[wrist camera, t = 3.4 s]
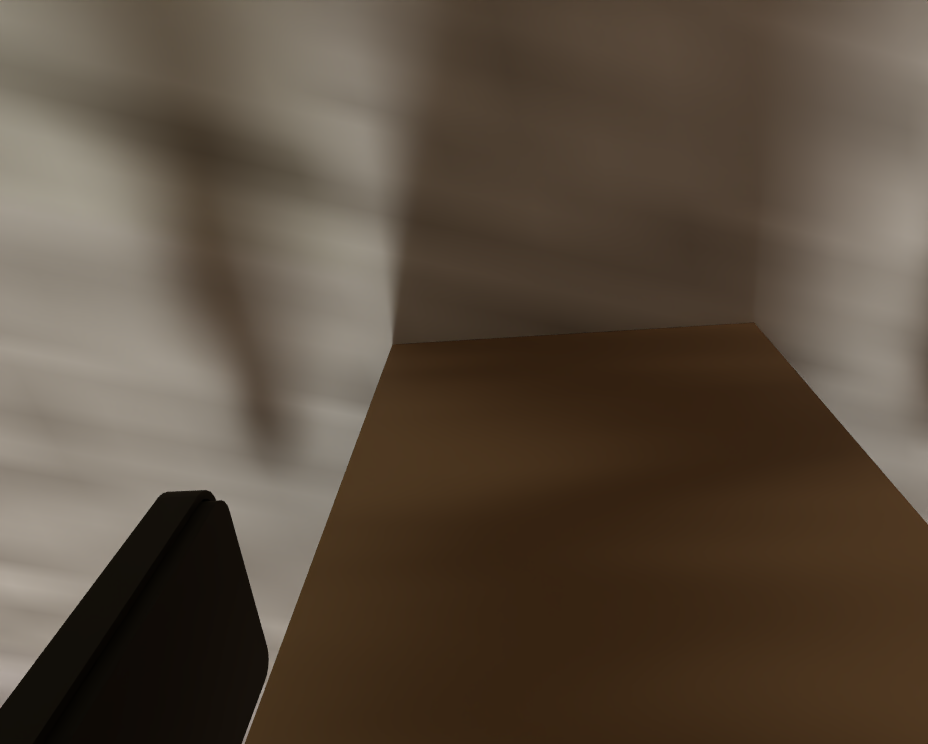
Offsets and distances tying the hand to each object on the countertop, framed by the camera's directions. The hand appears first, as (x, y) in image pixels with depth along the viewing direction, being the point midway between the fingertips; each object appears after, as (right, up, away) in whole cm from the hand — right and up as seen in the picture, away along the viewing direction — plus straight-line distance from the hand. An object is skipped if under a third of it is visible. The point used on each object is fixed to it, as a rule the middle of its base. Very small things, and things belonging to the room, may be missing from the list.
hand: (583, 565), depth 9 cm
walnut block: (0, +1, +2) cm, 2 cm away
